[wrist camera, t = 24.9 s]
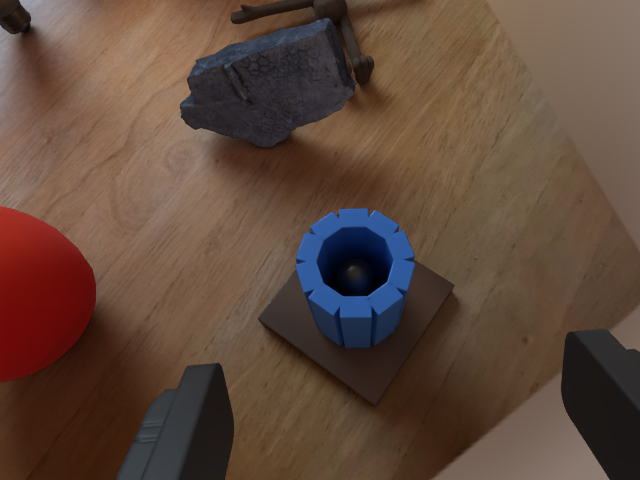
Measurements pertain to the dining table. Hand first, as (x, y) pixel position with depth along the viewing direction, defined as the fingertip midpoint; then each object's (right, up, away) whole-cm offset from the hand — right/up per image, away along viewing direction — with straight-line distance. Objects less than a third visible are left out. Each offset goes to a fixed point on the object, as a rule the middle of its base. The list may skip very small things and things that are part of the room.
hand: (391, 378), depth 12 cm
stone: (-6, +13, +31) cm, 35 cm away
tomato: (-22, -3, +26) cm, 34 cm away
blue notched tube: (+1, -1, +23) cm, 24 cm away
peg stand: (+1, -2, +25) cm, 25 cm away
